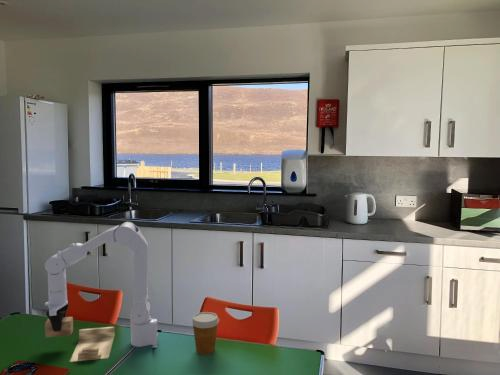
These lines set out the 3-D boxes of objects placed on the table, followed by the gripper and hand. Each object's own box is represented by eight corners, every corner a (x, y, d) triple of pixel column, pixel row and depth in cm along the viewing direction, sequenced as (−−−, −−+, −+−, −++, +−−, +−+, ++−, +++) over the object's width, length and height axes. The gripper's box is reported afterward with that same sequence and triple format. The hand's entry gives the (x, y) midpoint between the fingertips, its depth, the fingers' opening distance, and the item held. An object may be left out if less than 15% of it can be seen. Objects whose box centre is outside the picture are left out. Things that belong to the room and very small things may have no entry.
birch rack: (114, 338, 148) (114, 326, 147) (108, 360, 131) (108, 347, 131) (79, 341, 145) (79, 329, 145) (69, 364, 129) (69, 351, 129)
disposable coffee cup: (186, 353, 137) (185, 319, 136) (201, 341, 145) (201, 309, 144) (209, 359, 132) (209, 324, 131) (224, 347, 141) (224, 314, 140)
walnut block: (73, 330, 141) (72, 316, 140) (70, 335, 137) (70, 321, 136) (48, 332, 139) (48, 318, 139) (45, 337, 135) (44, 323, 135)
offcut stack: (101, 355, 133) (101, 345, 133) (100, 358, 131) (100, 348, 131) (79, 357, 131) (78, 348, 131) (77, 360, 130) (77, 350, 129)
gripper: (50, 283, 143) (52, 320, 144) (38, 297, 129) (40, 338, 130) (71, 282, 144) (73, 318, 145) (61, 296, 130) (63, 336, 131)
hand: (58, 327), depth 138 cm, fingers closed on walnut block, 4 cm apart
